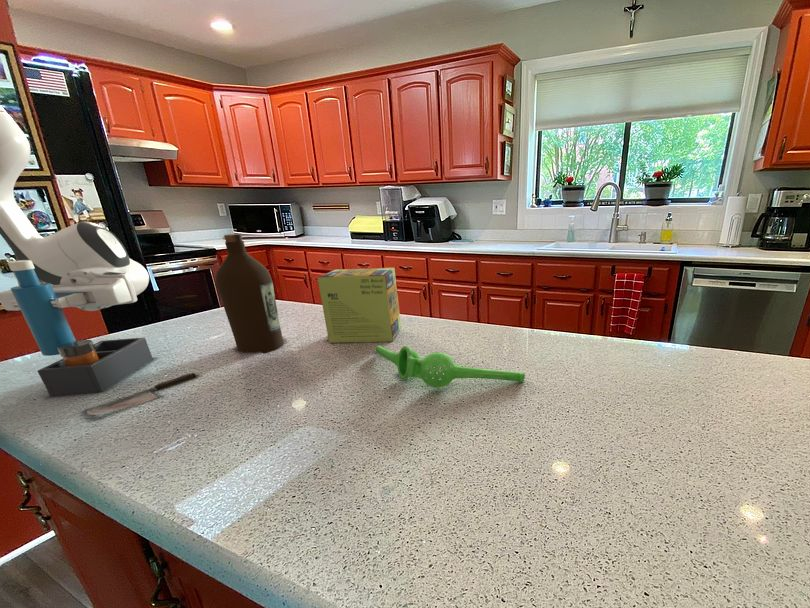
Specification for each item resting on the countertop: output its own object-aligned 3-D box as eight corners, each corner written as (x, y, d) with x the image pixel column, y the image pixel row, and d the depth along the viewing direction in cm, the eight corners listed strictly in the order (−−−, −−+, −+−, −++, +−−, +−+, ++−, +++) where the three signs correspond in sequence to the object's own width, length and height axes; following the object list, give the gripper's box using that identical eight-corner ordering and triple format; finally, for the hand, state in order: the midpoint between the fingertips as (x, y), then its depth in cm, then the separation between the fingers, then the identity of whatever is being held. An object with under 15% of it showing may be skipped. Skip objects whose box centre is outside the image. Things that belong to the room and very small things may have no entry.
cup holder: (154, 361, 85) (145, 337, 83) (103, 394, 71) (90, 366, 69) (111, 365, 84) (101, 340, 82) (51, 399, 70) (36, 370, 68)
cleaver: (92, 418, 61) (82, 409, 64) (95, 424, 62) (85, 415, 64) (204, 377, 73) (192, 371, 76) (206, 382, 74) (194, 376, 76)
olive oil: (228, 358, 86) (192, 238, 76) (244, 342, 95) (214, 233, 86) (280, 352, 88) (252, 235, 78) (290, 337, 97) (267, 231, 88)
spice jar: (76, 392, 71) (56, 350, 68) (76, 384, 74) (57, 344, 71) (109, 383, 74) (92, 343, 71) (108, 376, 77) (91, 338, 74)
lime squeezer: (525, 379, 71) (525, 346, 69) (497, 409, 62) (497, 372, 59) (380, 353, 86) (376, 325, 83) (339, 374, 76) (334, 343, 74)
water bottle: (41, 358, 75) (-4, 264, 68) (43, 351, 79) (0, 261, 72) (78, 350, 78) (38, 260, 72) (79, 344, 82) (40, 258, 75)
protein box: (393, 341, 92) (385, 275, 86) (328, 343, 93) (315, 277, 87) (402, 328, 102) (395, 267, 96) (343, 329, 102) (332, 268, 96)
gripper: (28, 277, 84) (-39, 291, 71) (135, 272, 87) (89, 285, 74) (41, 306, 86) (-21, 325, 74) (145, 300, 89) (102, 317, 77)
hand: (35, 305), depth 74 cm, fingers closed on water bottle, 5 cm apart
